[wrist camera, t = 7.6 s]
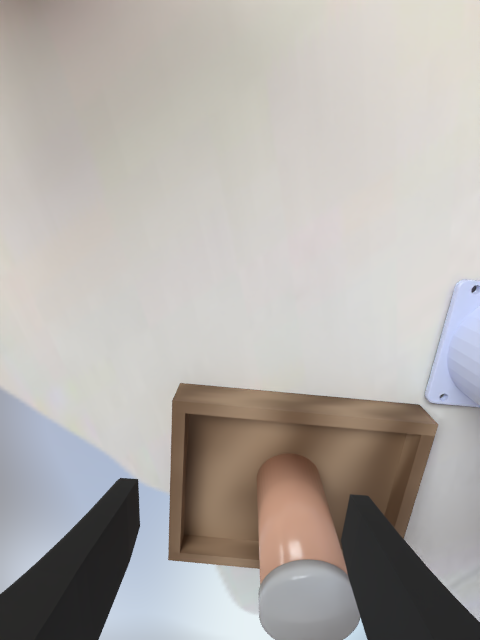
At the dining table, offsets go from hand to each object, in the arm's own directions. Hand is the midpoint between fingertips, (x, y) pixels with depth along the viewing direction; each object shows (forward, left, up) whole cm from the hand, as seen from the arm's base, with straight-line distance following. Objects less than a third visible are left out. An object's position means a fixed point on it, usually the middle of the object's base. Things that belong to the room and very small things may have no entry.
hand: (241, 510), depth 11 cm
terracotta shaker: (-4, +7, -10) cm, 13 cm away
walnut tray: (-4, +8, -10) cm, 13 cm away
